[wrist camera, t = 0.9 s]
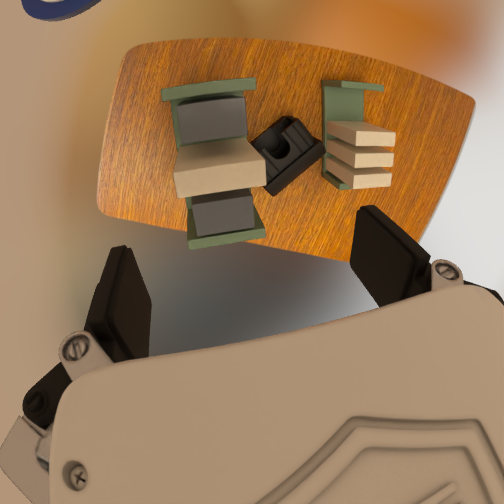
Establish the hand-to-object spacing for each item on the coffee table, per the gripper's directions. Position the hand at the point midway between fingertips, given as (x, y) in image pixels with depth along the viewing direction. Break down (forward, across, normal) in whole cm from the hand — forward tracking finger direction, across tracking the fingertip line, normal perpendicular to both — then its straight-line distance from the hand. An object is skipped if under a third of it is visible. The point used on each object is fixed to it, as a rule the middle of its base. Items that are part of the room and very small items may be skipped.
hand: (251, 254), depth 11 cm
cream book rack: (+32, -21, +2) cm, 38 cm away
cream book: (+19, 0, 0) cm, 19 cm away
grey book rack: (+32, 0, +1) cm, 32 cm away
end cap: (+32, -10, +5) cm, 34 cm away
